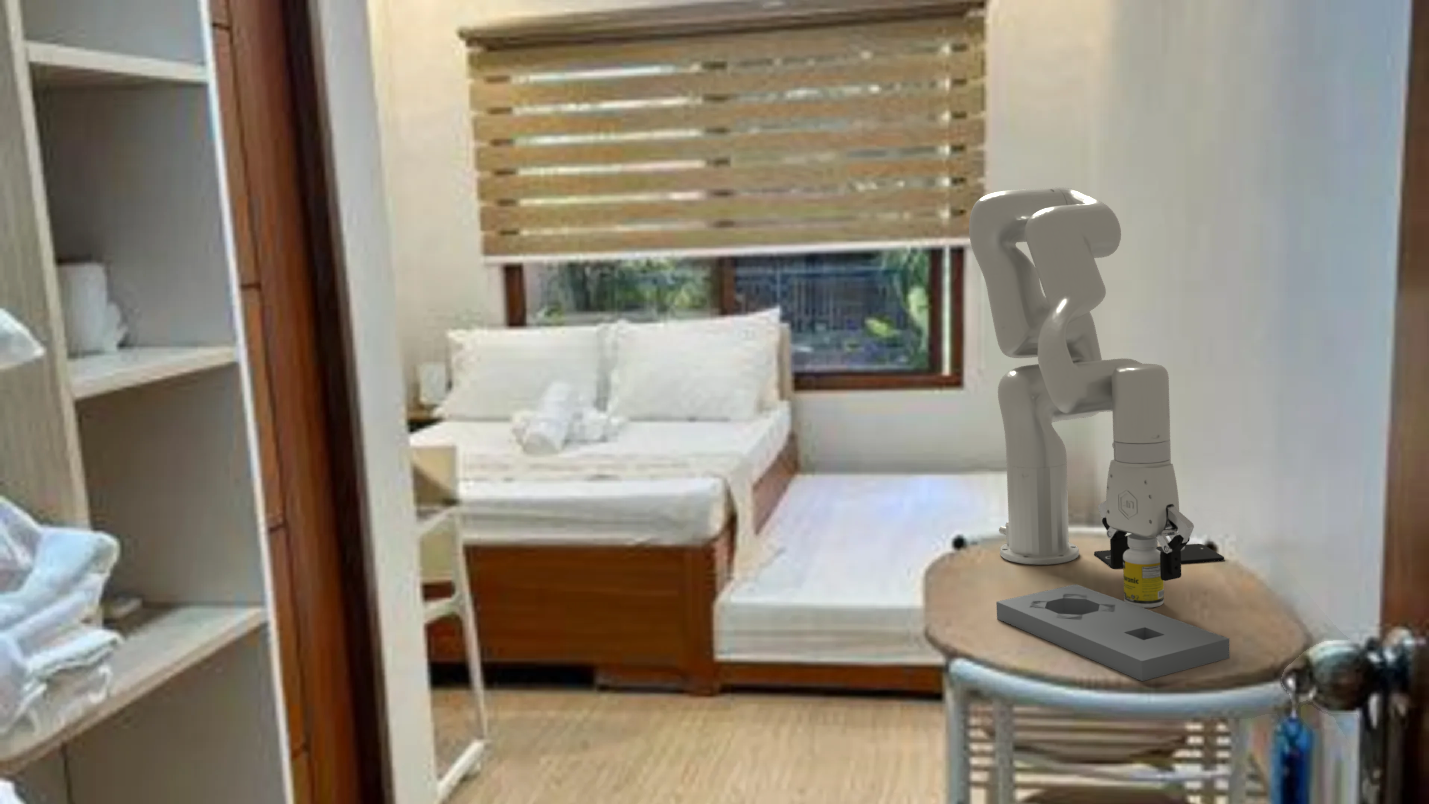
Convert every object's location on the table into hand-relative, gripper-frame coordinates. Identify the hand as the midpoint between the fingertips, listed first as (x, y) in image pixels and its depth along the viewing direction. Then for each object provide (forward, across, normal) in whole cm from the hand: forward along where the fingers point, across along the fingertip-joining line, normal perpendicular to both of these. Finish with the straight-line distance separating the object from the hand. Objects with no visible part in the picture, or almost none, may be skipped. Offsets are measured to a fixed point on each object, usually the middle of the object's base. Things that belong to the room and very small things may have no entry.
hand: (1145, 571), depth 170 cm
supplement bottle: (+5, -1, 0) cm, 5 cm away
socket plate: (+5, +7, -14) cm, 16 cm away
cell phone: (+5, -17, +18) cm, 25 cm away
